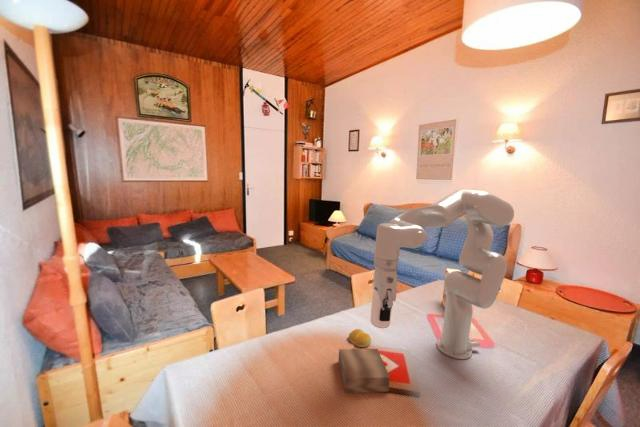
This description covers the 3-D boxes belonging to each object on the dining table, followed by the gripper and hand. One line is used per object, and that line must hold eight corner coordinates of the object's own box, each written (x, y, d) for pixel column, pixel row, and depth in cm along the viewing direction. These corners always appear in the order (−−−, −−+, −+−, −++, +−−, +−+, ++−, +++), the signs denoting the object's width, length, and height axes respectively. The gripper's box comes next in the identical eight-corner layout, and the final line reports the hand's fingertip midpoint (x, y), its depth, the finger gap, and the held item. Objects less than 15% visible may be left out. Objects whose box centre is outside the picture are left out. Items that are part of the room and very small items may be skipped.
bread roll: (362, 351, 108) (363, 341, 107) (345, 339, 115) (346, 330, 114) (375, 342, 113) (376, 333, 113) (358, 332, 120) (359, 324, 119)
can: (391, 320, 94) (394, 286, 92) (389, 330, 88) (393, 294, 86) (371, 316, 96) (374, 283, 94) (368, 326, 90) (371, 290, 88)
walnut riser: (376, 361, 102) (377, 348, 101) (388, 391, 88) (389, 377, 88) (338, 361, 101) (339, 349, 100) (344, 392, 87) (345, 378, 86)
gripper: (408, 272, 81) (401, 329, 84) (388, 254, 98) (383, 302, 101) (383, 272, 80) (377, 329, 83) (367, 253, 97) (363, 302, 100)
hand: (380, 314), depth 92 cm, fingers closed on can, 6 cm apart
